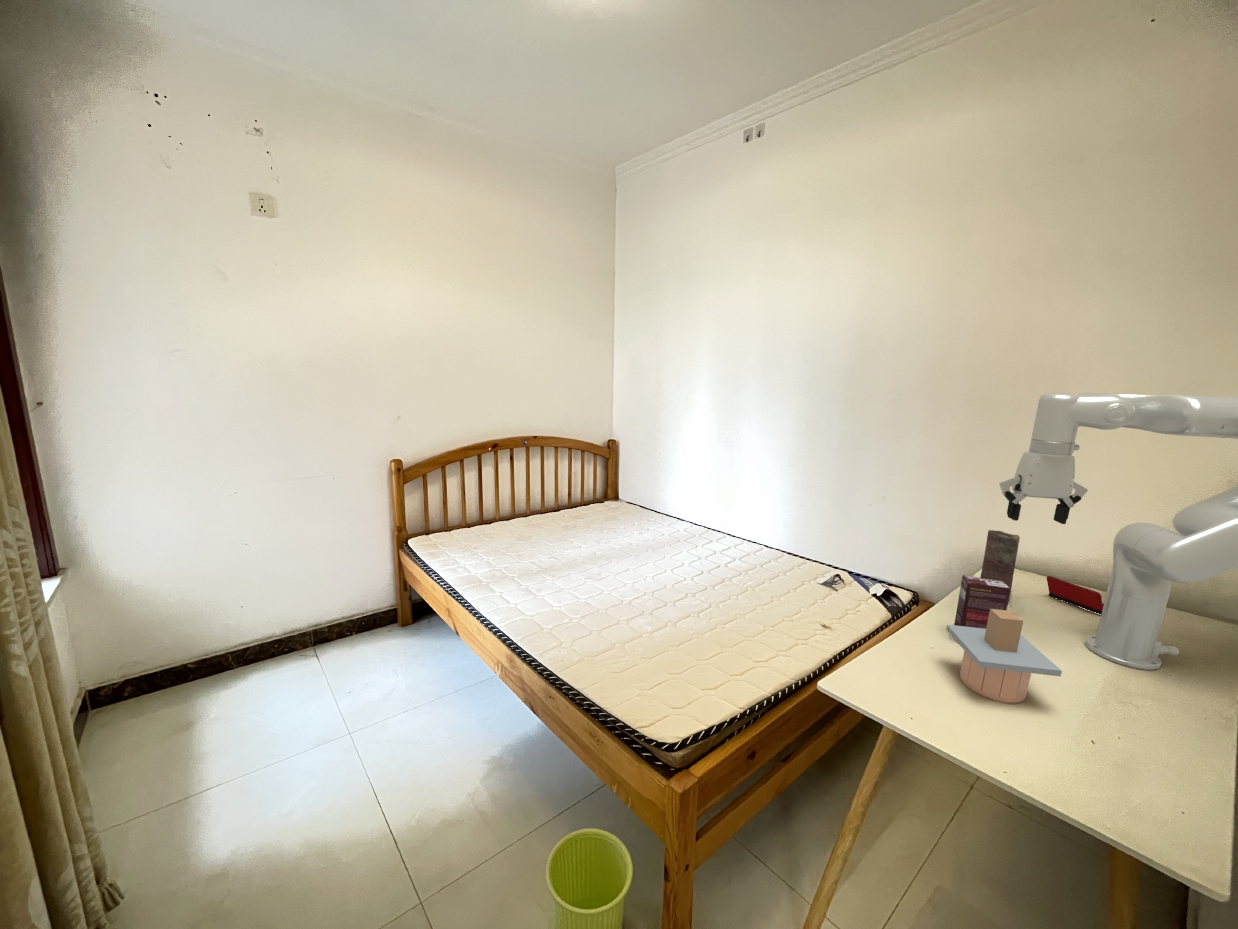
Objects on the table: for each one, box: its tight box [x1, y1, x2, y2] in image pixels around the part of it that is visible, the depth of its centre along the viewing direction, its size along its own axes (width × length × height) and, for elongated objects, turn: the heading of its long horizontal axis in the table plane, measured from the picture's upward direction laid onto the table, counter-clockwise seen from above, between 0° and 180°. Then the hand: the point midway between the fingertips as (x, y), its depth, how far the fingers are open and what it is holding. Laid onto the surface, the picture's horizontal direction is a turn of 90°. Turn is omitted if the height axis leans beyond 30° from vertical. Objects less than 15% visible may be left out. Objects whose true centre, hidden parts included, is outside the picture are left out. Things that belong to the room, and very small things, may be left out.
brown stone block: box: [980, 529, 1021, 602], centre depth 142 cm, size 8×7×20 cm
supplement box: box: [953, 574, 1011, 629], centre depth 119 cm, size 9×5×16 cm, turn 71°
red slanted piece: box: [1046, 575, 1104, 614], centre depth 141 cm, size 12×11×7 cm
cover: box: [945, 609, 1063, 677], centre depth 102 cm, size 14×14×8 cm
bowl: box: [959, 649, 1032, 705], centre depth 103 cm, size 11×11×8 cm
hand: (1035, 520), depth 116 cm, fingers open, 9 cm apart
